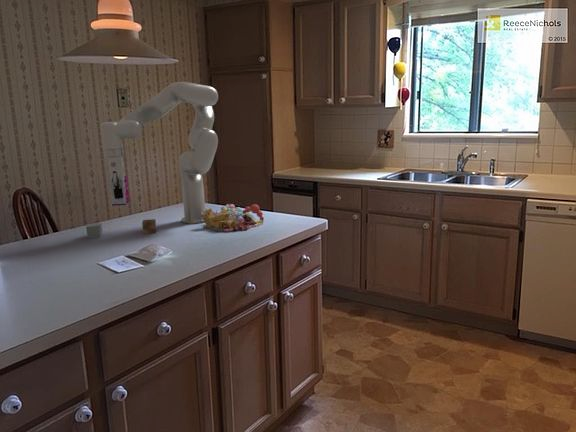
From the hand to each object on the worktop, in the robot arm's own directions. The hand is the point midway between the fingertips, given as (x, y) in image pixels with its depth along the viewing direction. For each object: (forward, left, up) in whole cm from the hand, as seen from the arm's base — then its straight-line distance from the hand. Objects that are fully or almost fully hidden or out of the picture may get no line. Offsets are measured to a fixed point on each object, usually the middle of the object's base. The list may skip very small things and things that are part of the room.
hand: (120, 196), depth 200 cm
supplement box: (0, 0, -3) cm, 3 cm away
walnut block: (-10, 0, -16) cm, 19 cm away
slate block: (+12, 0, -16) cm, 20 cm away
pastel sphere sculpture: (-45, -1, -17) cm, 48 cm away
